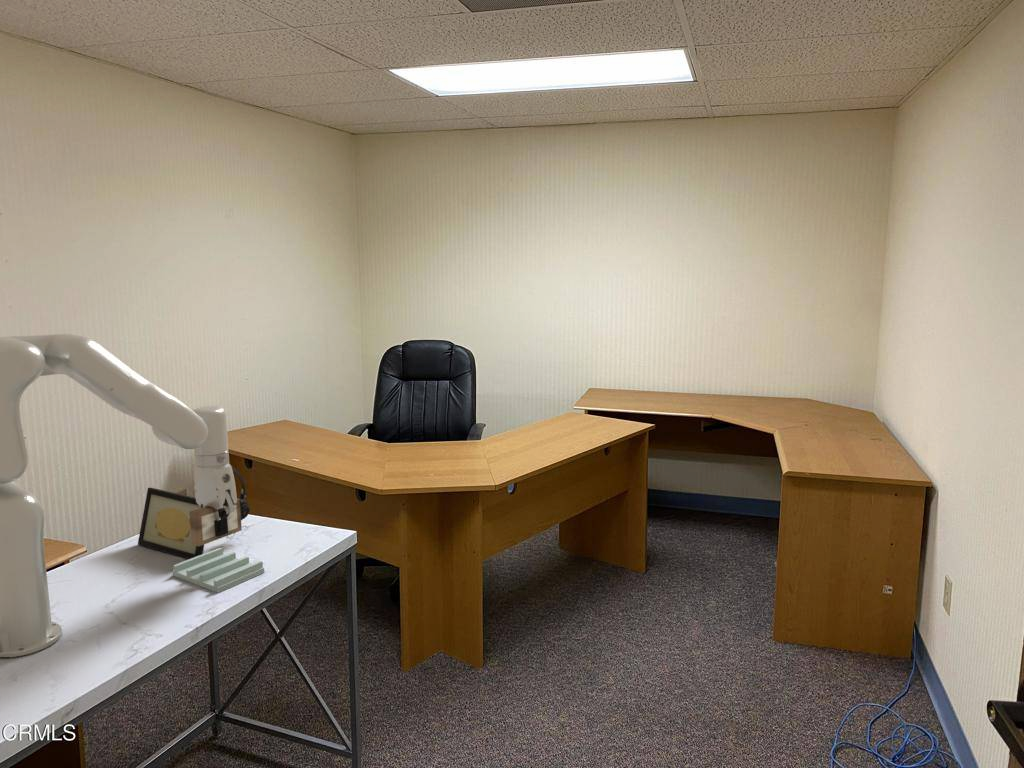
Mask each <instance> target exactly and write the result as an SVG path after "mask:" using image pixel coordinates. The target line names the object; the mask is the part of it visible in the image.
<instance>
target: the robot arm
mask: <svg viewBox="0 0 1024 768" xmlns="http://www.w3.org/2000/svg"><path fill="white" fill-rule="evenodd" d="M52 375H53V376H54V375H64V376H68V377H69V378H70V379H72V380H73V381H75V382H77V384H79V385H80V386H81V387H84V388H85V389H87V390H88V391H89V392H91V393H92V394H93V395H95V396H97V397H98V398H99V399H101V401H103V402H105V403H106V404H108V405H109V406H110V407H112V408H114V409H116V410H117V411H118V412H121V413H123V414H125V415H127V416H129V417H132V418H135V419H138V420H140V421H142V422H143V423H145V424H148V425H149V426H151V430H152V432H153V435H154V436H155V438H157V439H158V440H160V441H161V442H163V443H165V444H168V445H170V446H171V445H172V446H174V447H178V448H179V449H184V450H193V457H194V458H193V459H194V472H193V477H194V478H193V489H194V490H193V491H194V498H196V502H197V504H198V505H199V506H200V507H201V508H202V507H205V506H210V507H213V508H215V515H216V520H215V521H214V524H215V536H217V537H219V536H221V535H224V534H227V533H228V521H227V518H228V517H229V514H230V513H232V512H234V511H235V508H234V505H233V504H236V503H237V499H238V498H237V497H238V496H237V487H236V480H235V475H234V472H233V471H232V467H233V466H232V465H231V464H230V455H229V440H228V439H229V438H228V423H227V412H226V410H225V409H224V408H223V407H222V406H217V405H216V406H215V405H207V406H200V407H196V408H194V409H191V408H189V407H188V406H187V405H186V404H184V403H183V402H181V401H180V400H178V398H176V397H174V396H172V395H171V394H170V393H167V392H166V391H165V390H163V389H162V388H160V387H159V386H157V385H156V384H154V383H153V382H151V381H149V379H147V378H145V377H143V376H142V375H141V374H139V373H138V372H137V371H135V370H134V369H133V368H131V367H130V366H129V365H128V364H126V363H125V362H124V361H122V360H121V359H120V358H118V357H117V356H116V355H114V354H113V353H112V352H111V351H109V350H108V349H106V348H105V347H104V346H102V345H101V344H100V343H99V342H97V341H95V340H94V339H92V338H90V337H87V336H84V335H83V336H82V335H76V334H72V333H71V334H70V333H58V334H57V333H55V334H41V335H40V334H39V335H19V336H17V335H15V336H0V657H10V658H17V656H18V657H21V656H27V655H30V654H33V653H37V652H39V651H41V650H44V649H46V648H48V647H49V646H51V645H53V644H54V643H56V642H57V641H58V640H59V639H60V638H61V637H62V634H63V631H62V629H63V628H62V626H61V625H60V624H59V623H57V622H54V621H52V612H51V604H50V603H51V602H50V593H49V584H48V576H47V565H46V557H45V547H44V545H45V544H44V530H45V512H44V508H43V506H42V503H41V502H40V500H39V498H37V496H35V494H34V493H32V492H31V491H29V490H27V489H26V488H23V487H21V486H19V483H18V479H20V478H21V477H22V476H23V475H24V474H25V472H26V470H27V468H28V465H29V455H28V450H27V446H26V441H25V435H24V431H23V425H22V419H21V412H20V411H21V409H20V407H21V406H20V403H21V399H22V396H23V394H24V393H25V391H26V390H27V389H28V388H29V386H31V384H33V383H34V382H36V380H38V379H39V378H40V377H45V376H52ZM231 466H232V467H231ZM221 509H223V511H221V513H220V510H221Z"/></svg>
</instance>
